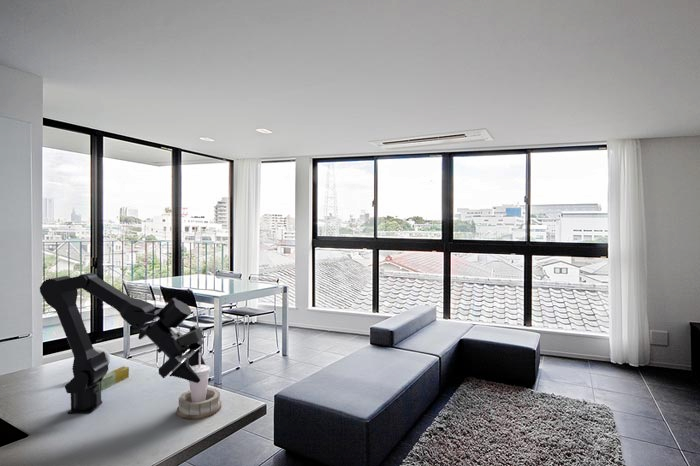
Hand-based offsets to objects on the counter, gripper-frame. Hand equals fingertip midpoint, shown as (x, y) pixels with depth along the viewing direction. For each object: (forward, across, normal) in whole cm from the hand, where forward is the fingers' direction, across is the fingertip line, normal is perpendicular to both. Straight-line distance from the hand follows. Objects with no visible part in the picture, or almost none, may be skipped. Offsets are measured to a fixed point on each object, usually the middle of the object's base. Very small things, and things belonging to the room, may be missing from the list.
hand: (203, 377), depth 115 cm
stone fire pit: (+6, 0, +7) cm, 9 cm away
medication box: (-19, +17, +34) cm, 42 cm away
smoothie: (+4, 0, +6) cm, 7 cm away
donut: (-26, +24, +41) cm, 54 cm away
